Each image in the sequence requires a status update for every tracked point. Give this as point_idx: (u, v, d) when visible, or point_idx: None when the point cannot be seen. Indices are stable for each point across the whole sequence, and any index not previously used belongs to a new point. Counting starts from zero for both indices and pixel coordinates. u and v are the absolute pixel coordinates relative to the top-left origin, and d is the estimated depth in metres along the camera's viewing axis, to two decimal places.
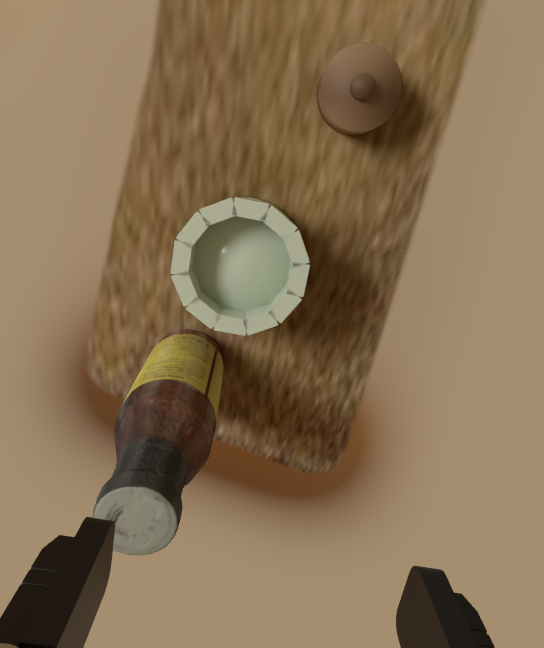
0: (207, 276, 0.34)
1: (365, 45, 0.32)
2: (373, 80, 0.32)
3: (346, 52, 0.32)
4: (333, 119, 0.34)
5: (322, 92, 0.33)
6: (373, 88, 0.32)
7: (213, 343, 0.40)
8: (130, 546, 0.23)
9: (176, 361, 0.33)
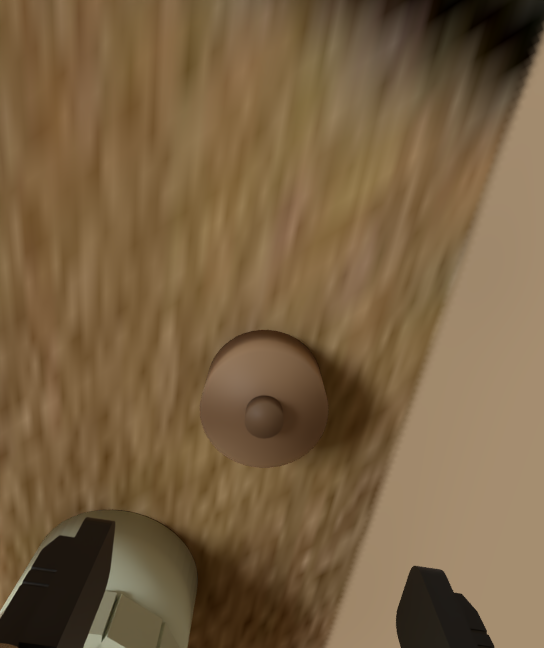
0: None
1: (266, 355, 0.20)
2: (278, 413, 0.20)
3: (236, 364, 0.20)
4: (222, 451, 0.21)
5: (202, 417, 0.21)
6: (279, 425, 0.20)
7: None
8: None
9: None
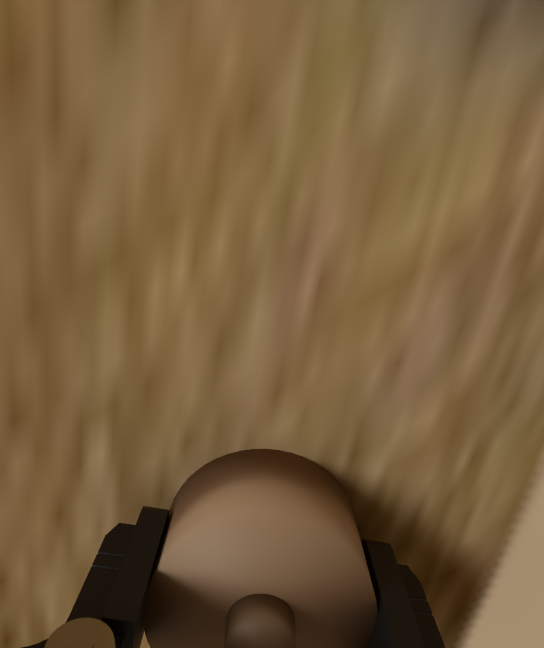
0: None
1: (264, 528, 0.11)
2: (287, 639, 0.11)
3: (208, 543, 0.11)
4: None
5: (147, 629, 0.11)
6: None
7: None
8: None
9: None
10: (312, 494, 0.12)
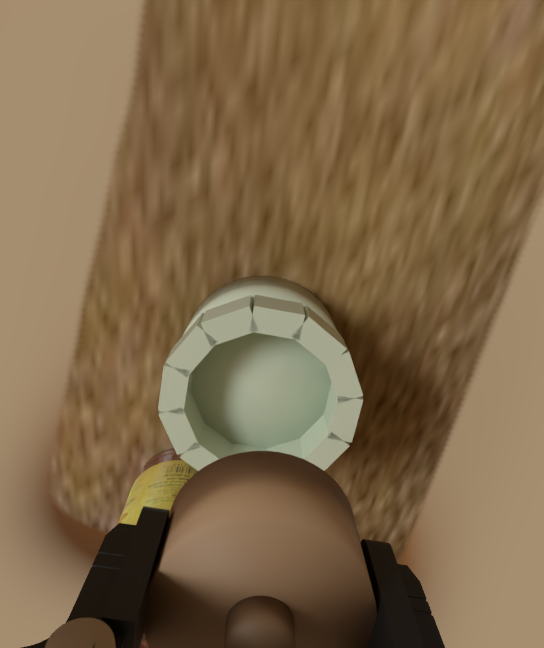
0: (211, 402, 0.24)
1: (264, 530, 0.11)
2: (287, 641, 0.11)
3: (208, 545, 0.11)
4: None
5: (147, 630, 0.11)
6: None
7: None
8: None
9: None
10: (312, 496, 0.12)
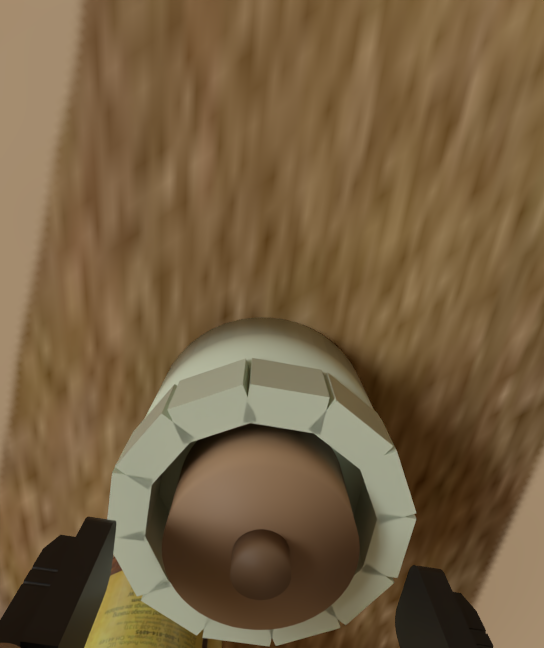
0: None
1: (264, 472, 0.13)
2: (284, 564, 0.13)
3: (217, 485, 0.13)
4: (197, 608, 0.14)
5: (165, 561, 0.14)
6: (284, 581, 0.13)
7: None
8: None
9: None
10: (305, 449, 0.14)
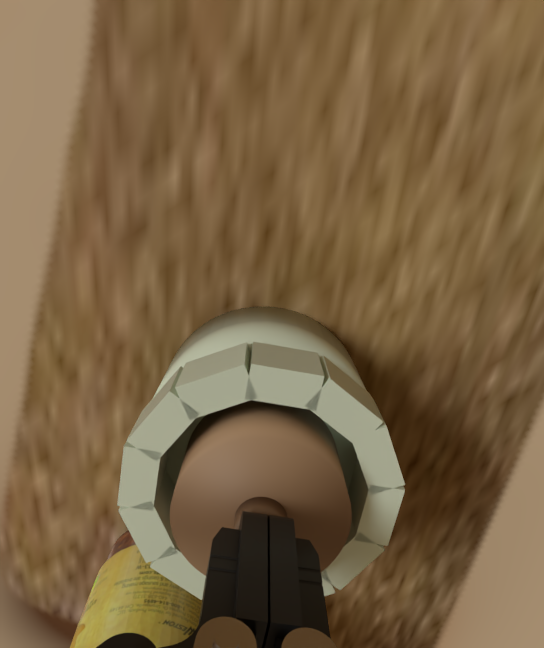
0: None
1: (265, 443, 0.14)
2: None
3: (222, 455, 0.14)
4: (201, 570, 0.15)
5: (173, 525, 0.15)
6: None
7: None
8: None
9: None
10: (302, 424, 0.15)
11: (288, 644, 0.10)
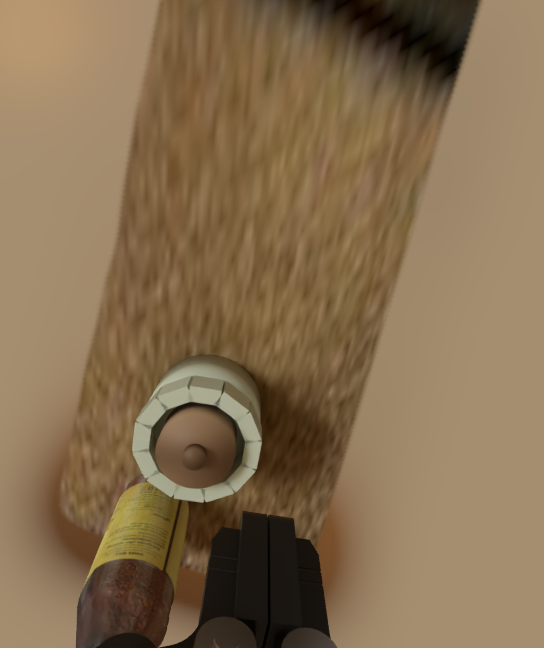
0: None
1: (195, 419, 0.33)
2: (202, 455, 0.33)
3: (177, 425, 0.33)
4: (169, 478, 0.34)
5: (156, 457, 0.34)
6: (202, 462, 0.33)
7: None
8: None
9: (138, 529, 0.35)
10: (215, 412, 0.34)
11: (288, 644, 0.10)
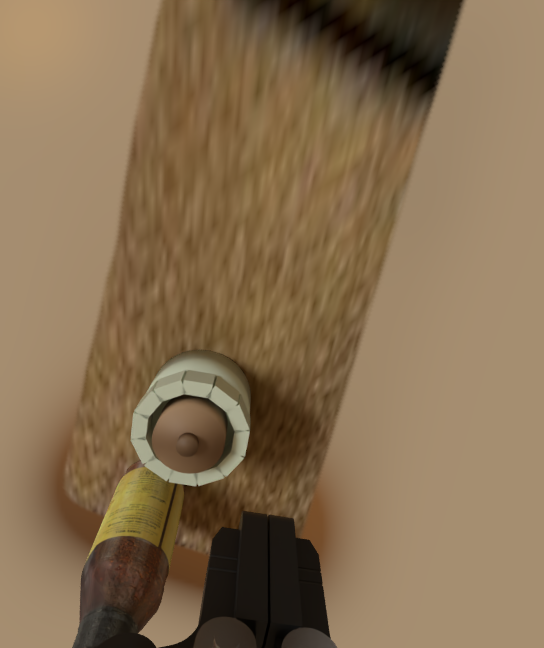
0: None
1: (188, 411, 0.36)
2: (194, 443, 0.36)
3: (171, 415, 0.36)
4: (165, 464, 0.37)
5: (153, 444, 0.37)
6: (195, 449, 0.36)
7: None
8: None
9: (136, 509, 0.39)
10: (206, 404, 0.37)
11: (288, 644, 0.10)
